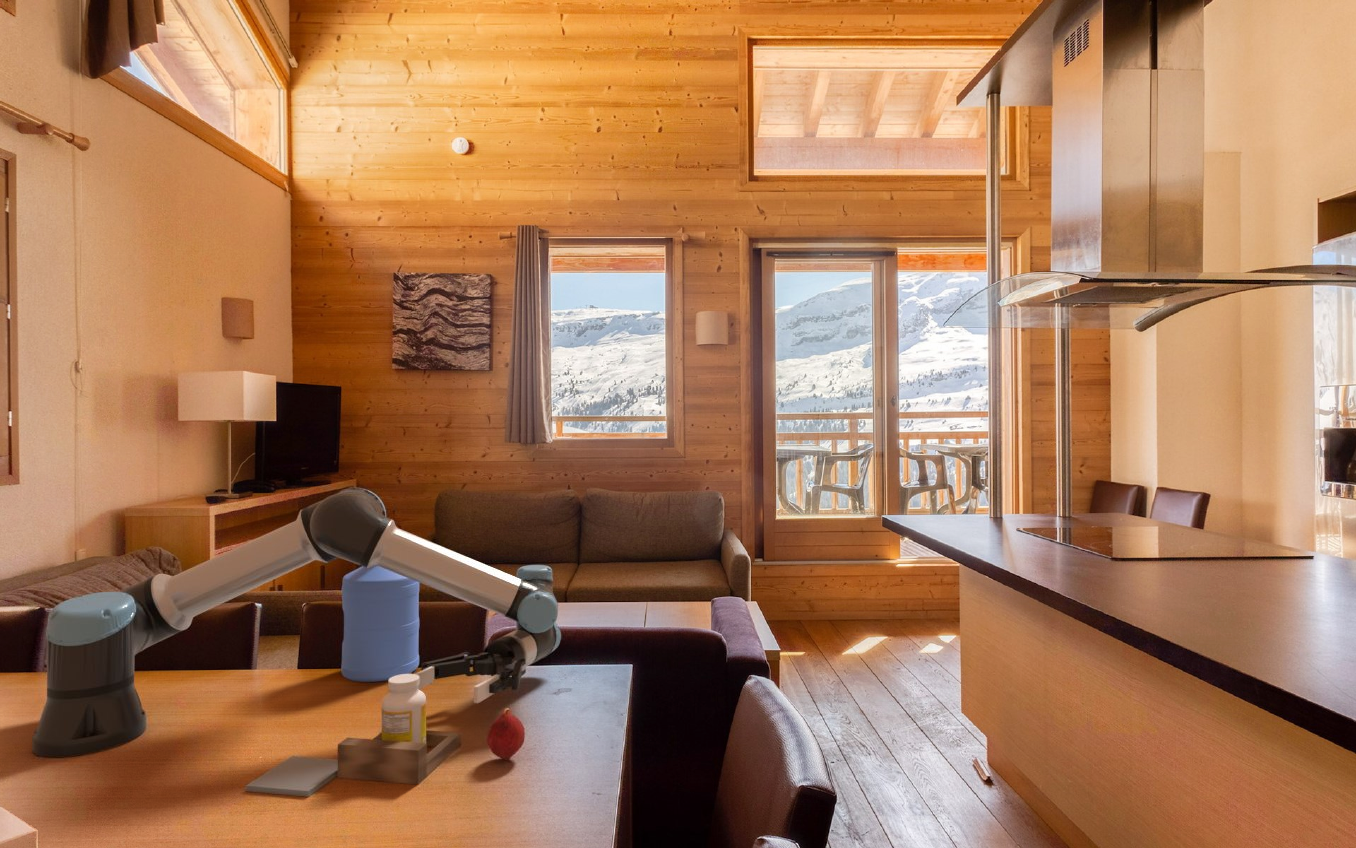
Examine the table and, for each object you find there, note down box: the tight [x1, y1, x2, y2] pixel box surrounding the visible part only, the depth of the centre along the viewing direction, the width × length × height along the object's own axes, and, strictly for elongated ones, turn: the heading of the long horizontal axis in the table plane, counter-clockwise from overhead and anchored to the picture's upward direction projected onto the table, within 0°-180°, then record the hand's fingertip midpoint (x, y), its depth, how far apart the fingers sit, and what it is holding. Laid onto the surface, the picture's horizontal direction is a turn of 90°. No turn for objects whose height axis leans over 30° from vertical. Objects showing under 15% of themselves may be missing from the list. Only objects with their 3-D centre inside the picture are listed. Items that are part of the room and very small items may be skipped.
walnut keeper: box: [337, 729, 462, 786], centre depth 118 cm, size 13×14×5 cm
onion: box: [486, 707, 526, 761], centre depth 118 cm, size 6×6×8 cm
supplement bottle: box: [381, 673, 427, 743], centre depth 119 cm, size 7×7×13 cm
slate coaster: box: [245, 755, 338, 798], centre depth 112 cm, size 10×10×1 cm
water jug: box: [340, 566, 420, 683], centre depth 162 cm, size 16×16×28 cm
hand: (441, 690), depth 127 cm, fingers open, 13 cm apart
